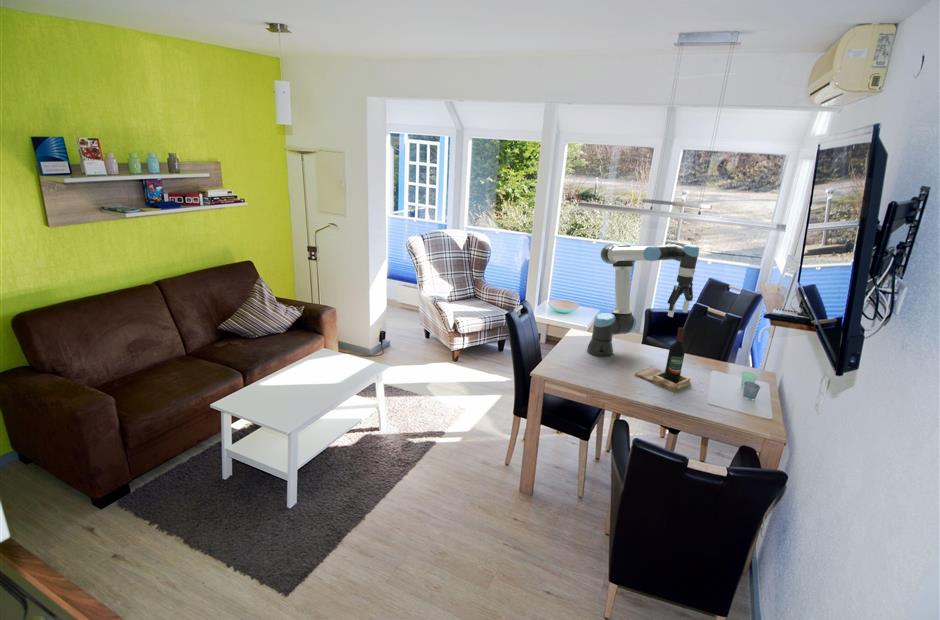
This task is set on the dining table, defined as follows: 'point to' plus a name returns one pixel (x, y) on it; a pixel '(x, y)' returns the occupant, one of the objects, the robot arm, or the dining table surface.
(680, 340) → the wine bottle
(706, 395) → the dining table surface
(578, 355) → the dining table surface
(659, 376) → the board
